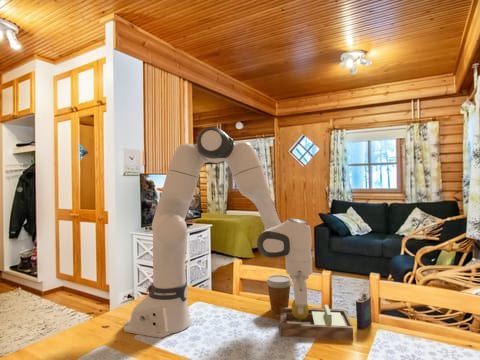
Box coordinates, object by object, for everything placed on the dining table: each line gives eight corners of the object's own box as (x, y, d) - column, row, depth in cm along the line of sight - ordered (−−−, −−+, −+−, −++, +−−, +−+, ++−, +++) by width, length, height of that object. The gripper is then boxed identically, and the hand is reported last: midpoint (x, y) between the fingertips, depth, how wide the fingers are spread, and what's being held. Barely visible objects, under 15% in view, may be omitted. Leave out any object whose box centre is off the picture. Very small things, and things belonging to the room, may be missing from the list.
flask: (365, 318, 106) (364, 288, 106) (374, 321, 104) (373, 290, 104) (355, 328, 99) (354, 296, 100) (364, 331, 97) (363, 298, 98)
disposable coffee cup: (274, 303, 122) (274, 273, 122) (296, 308, 116) (295, 277, 116) (262, 311, 114) (261, 279, 114) (284, 317, 108) (284, 284, 108)
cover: (314, 327, 96) (314, 315, 96) (311, 313, 106) (311, 302, 106) (346, 328, 94) (346, 317, 94) (340, 314, 105) (339, 303, 105)
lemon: (309, 325, 98) (308, 300, 98) (291, 324, 99) (291, 299, 100) (308, 317, 104) (307, 294, 104) (292, 316, 105) (291, 293, 105)
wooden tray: (280, 336, 95) (280, 324, 95) (280, 316, 109) (280, 306, 109) (353, 339, 92) (353, 328, 92) (344, 319, 106) (343, 309, 106)
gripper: (311, 277, 91) (312, 323, 91) (306, 259, 111) (306, 297, 111) (290, 276, 92) (291, 322, 92) (288, 259, 112) (289, 297, 112)
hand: (299, 308), depth 102 cm, fingers closed on lemon, 5 cm apart
